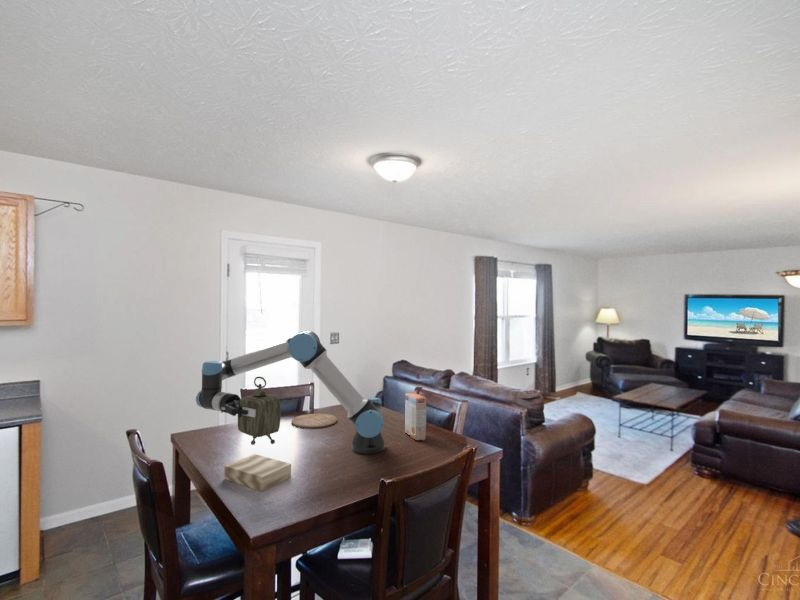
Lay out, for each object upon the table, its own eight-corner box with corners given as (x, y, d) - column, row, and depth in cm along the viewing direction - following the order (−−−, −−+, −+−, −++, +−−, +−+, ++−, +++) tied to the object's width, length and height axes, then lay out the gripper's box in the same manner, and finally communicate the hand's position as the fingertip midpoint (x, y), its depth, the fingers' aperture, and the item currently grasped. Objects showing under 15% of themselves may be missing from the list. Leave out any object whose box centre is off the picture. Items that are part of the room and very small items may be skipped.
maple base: (290, 477, 151) (291, 463, 151) (261, 491, 139) (262, 477, 139) (254, 466, 161) (254, 454, 161) (224, 479, 149) (224, 465, 149)
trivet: (283, 422, 225) (283, 419, 225) (320, 414, 243) (321, 411, 243) (306, 432, 207) (306, 428, 207) (345, 423, 225) (345, 419, 225)
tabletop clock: (279, 443, 150) (281, 377, 151) (259, 450, 143) (261, 380, 143) (255, 436, 158) (257, 373, 159) (235, 442, 151) (237, 376, 151)
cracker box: (426, 440, 195) (427, 397, 196) (415, 441, 193) (415, 398, 193) (415, 432, 208) (415, 392, 209) (404, 433, 206) (404, 392, 206)
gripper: (249, 406, 169) (288, 413, 158) (201, 418, 150) (241, 427, 139) (249, 388, 169) (288, 394, 158) (201, 398, 150) (241, 406, 139)
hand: (266, 410), depth 149 cm, fingers closed on tabletop clock, 10 cm apart
